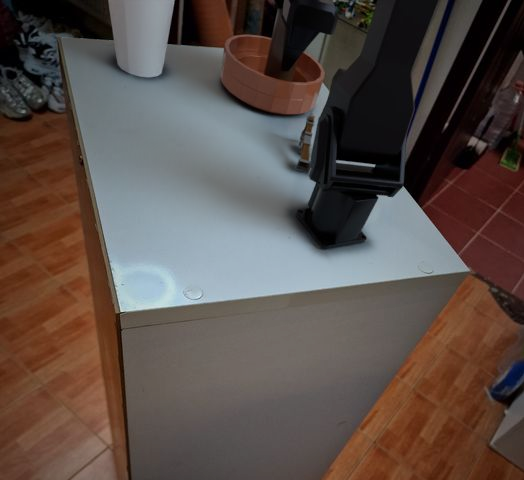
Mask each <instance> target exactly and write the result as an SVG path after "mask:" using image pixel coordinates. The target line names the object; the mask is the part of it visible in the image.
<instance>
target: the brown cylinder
mask: <svg viewBox="0 0 524 480" xmlns="http://www.w3.org/2000/svg"><path fill="white" fill-rule="evenodd" d="M279 9H281V10H283V8H279ZM284 35H285V24H284V22H283V20H282V18H281V16H280V14H279V11H277V10H276V16H275V21H274V25H273V30H272V35H271V37H270V38H271V43H270V47H269V52H268V56H267V61H266V65H265V70H264V74H263V75H266V76H269V77H272V78H275V79H279V80H284V81H289V82H292V81H293V77H294V73H295V70H296V66H297V62H298V60H297V61H296V62H295V64H294V65H293V66H292V68H291V69H290V70H289V71H288V72H287V71H283V70H282V69H281V64H282V53H283V44H284ZM298 59H299V58H298Z"/></svg>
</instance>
